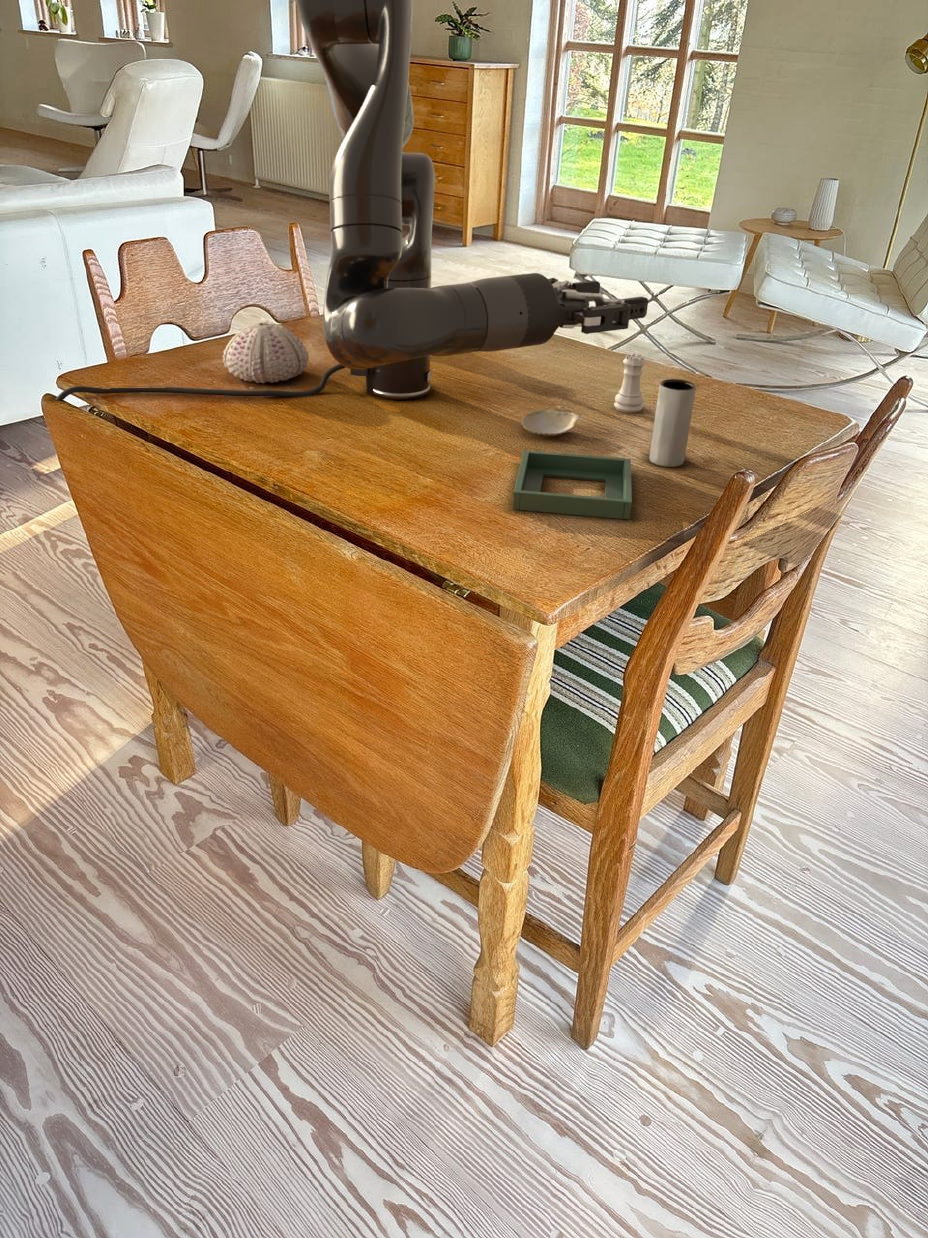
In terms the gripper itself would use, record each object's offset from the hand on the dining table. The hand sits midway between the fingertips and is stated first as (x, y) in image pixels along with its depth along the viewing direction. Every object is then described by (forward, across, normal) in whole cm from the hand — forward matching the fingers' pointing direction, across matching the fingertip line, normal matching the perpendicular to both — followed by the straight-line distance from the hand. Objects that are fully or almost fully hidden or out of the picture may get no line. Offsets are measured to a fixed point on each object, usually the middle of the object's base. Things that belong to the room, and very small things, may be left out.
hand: (620, 298), depth 110 cm
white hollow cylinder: (+10, -1, +22) cm, 24 cm away
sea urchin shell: (-22, +57, +22) cm, 65 cm away
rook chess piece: (+20, +18, +22) cm, 35 cm away
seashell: (+3, +15, +22) cm, 27 cm away
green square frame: (-7, -3, +22) cm, 23 cm away
